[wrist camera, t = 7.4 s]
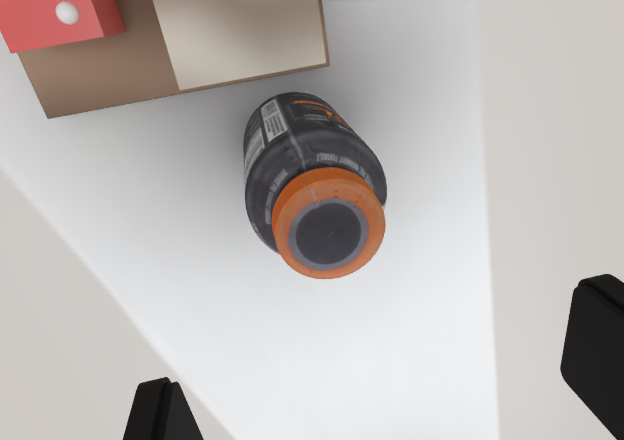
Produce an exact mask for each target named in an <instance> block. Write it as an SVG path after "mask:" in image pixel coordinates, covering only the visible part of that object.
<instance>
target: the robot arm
mask: <svg viewBox="0 0 624 440" xmlns="http://www.w3.org/2000/svg"><path fill="white" fill-rule="evenodd" d="M560 370H561V373H562V376H563V378H564V380H565V382H566V383H567V384H568V385H569V387H570V388H571V389H572V390H573V391H574V392H575V393H576V394H577V395H578V397H579V398H580V399H581V400H582V401H583V402H584V403H585V404H586V406H587V407H588V408H589V409H590V410H591V411H592V412H593V413H594V415H595V416H596V417H597V418H598V419H599V420H600V421H601V422H602V424H603V425H604V426H605V427H606V428H607V429H608V430H609V431H610V433H611V434H612V435H613V436H614V437H615V438H616V439H617V440H624V283H623V282H622V281H620V280H619V279H617V278H616V277H614V276H612V275H610V274H603V275H600V276H595V277H591V278H586V279H583V280H581V281H580V282H579V284H578V287H576V288H575V289H574V291H573V296H572V303H571V308H570V314H569V320H568V325H567V332H566V337H565V343H564V349H563V355H562V361H561V367H560ZM123 440H203V437H202V435H201V433H200V430H199V428H198V426H197V423H196V421H195V419H194V417H193V414H192V412H191V410H190V407H189V405H188V403H187V401H186V398H185V396H184V394H183V391H182V389H181V387H180V385H179V383H178V382H173V383H171V382H170V380H169V378H167V377H164V378H160V379H156V380H152V381H147V382H143V383H140V384H139V385H138V387H137V390H136V393H135V397H134V401H133V404H132V408H131V412H130V415H129V419H128V423H127V426H126V430H125V433H124V437H123Z"/></svg>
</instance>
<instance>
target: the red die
mask: <svg viewBox="0 0 624 440" xmlns="http://www.w3.org/2000/svg"><path fill="white" fill-rule="evenodd" d="M0 31H1V33H2V35H3V37H4V39H5V41H6V43H7V46H8V48H9V50H10V52H11V53H15V52H21V51H26V50H32V49H38V48H43V47H49V46H55V45H60V44H66V43H72V42H77V41H83V40H88V39H94V38H100V37H105V36H110V35H114V34H118V33H122V32H126V30H125V27H124V24H123V21H122V18H121V16H120V13H119V10H118V7H117V4H116V1H115V0H0Z"/></svg>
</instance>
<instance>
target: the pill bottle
mask: <svg viewBox="0 0 624 440" xmlns="http://www.w3.org/2000/svg"><path fill="white" fill-rule="evenodd" d="M243 148H244V177H245V203H246V210H247V214H248V217H249V220H250V223H251V225H252V227H253V229H254V231H255V232H256V234H257V235H258V237H259V238H260V239H261V240H262V241H263V242H264V243H265V244H266V245H267V246H268V247H269V248H270V249H272V250H273V251H274V252H276V253H278V254H280V255H281V256H282V258H283V259H284V261H285V262H286V263H287V264H288V265H289V266H290V267H291V268H292V269H294V270H295V271H297V272H299V273H301V274H303V275H305V276H308V277H312V278H317V279H333V278H339V277H343V276H346V275H348V274H351V273H353V272H354V271H356V270H358V269H360V268H361V267H362V266H364V265H365V264H366V263H367V262H368V261H370V260H371V258H372V257H373V256H374V255H375V253H376V252H377V250H378V248H379V247H380V245H381V243H382V240H383V236H384V232H385V217H384V208H385V203H386V198H387V185H386V178H385V175H384V172H383V169H382V166H381V164H380V162H379V160H378V159H377V157H376V155H375V154H374V153H373V151H372V150H371V149H370V148H369V147H368V146H367V145H366V144H365V142H364V141H363V140H362V139H361V138H360V137H359V136H358V135H357V134H356V133H355V132H354V131H353V130H352V129H351V128H350V127H349V126H348V124H347V123H346V122H345V121H344V120H343V119H342V118H341V117H340V116H339V115H338V114H337V113H336V112H335V111H334V110H333V108H332V107H331V106H330V105H329V104H327V103H326V102H325V101H323V100H322V99H320V98H318V97H316V96H313V95H310V94H305V93H298V92H292V93H285V94H280V95H277V96H275V97H273V98H270V99H269V100H267V101H266V102H264V103H263V104H262V105H261V106H259V107H258V108H257V109H256V111H255V112H254V113H253V114H252V116H251V118H250V119H249V121H248V123H247V126H246V130H245V134H244V142H243Z"/></svg>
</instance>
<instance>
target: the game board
mask: <svg viewBox="0 0 624 440" xmlns="http://www.w3.org/2000/svg"><path fill="white" fill-rule="evenodd" d="M115 1H116V4H117V7H118V10H119V13H120V16H121V18H122V21H123V24H124V27H125V30H126V32H122V33H118V34H114V35H110V36H105V37H100V38H94V39H88V40H83V41H77V42H72V43H66V44H60V45H55V46H49V47H43V48H38V49H32V50H26V51H21V52H17V54H18V56H19V58H20V60H21V62H22V64H23V67H24V69H25V71H26V73H27V75H28V77H29V79H30V82H31V84H32V86H33V88H34V90H35V92H36V95H37V97H38V99H39V101H40V103H41V105H42V107H43V110H44V112H45V114H46V116H47V118H48V119H50V118H55V117H61V116H66V115H71V114H77V113H82V112H87V111H92V110H98V109H103V108H108V107H114V106H119V105H124V104H130V103H135V102H140V101H145V100H151V99H156V98H161V97H167V96H172V95H177V94H183V93H188V92H193V91H198V90H204V89H209V88H214V87H220V86H225V85H230V84H236V83H241V82H246V81H251V80H257V79H262V78H267V77H273V76H278V75H283V74H289V73H294V72H299V71H304V70H310V69H315V68H320V67H326V66H330V64H329V56H328V48H327V40H326V32H325V24H324V16H323V8H322V0H115Z"/></svg>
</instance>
